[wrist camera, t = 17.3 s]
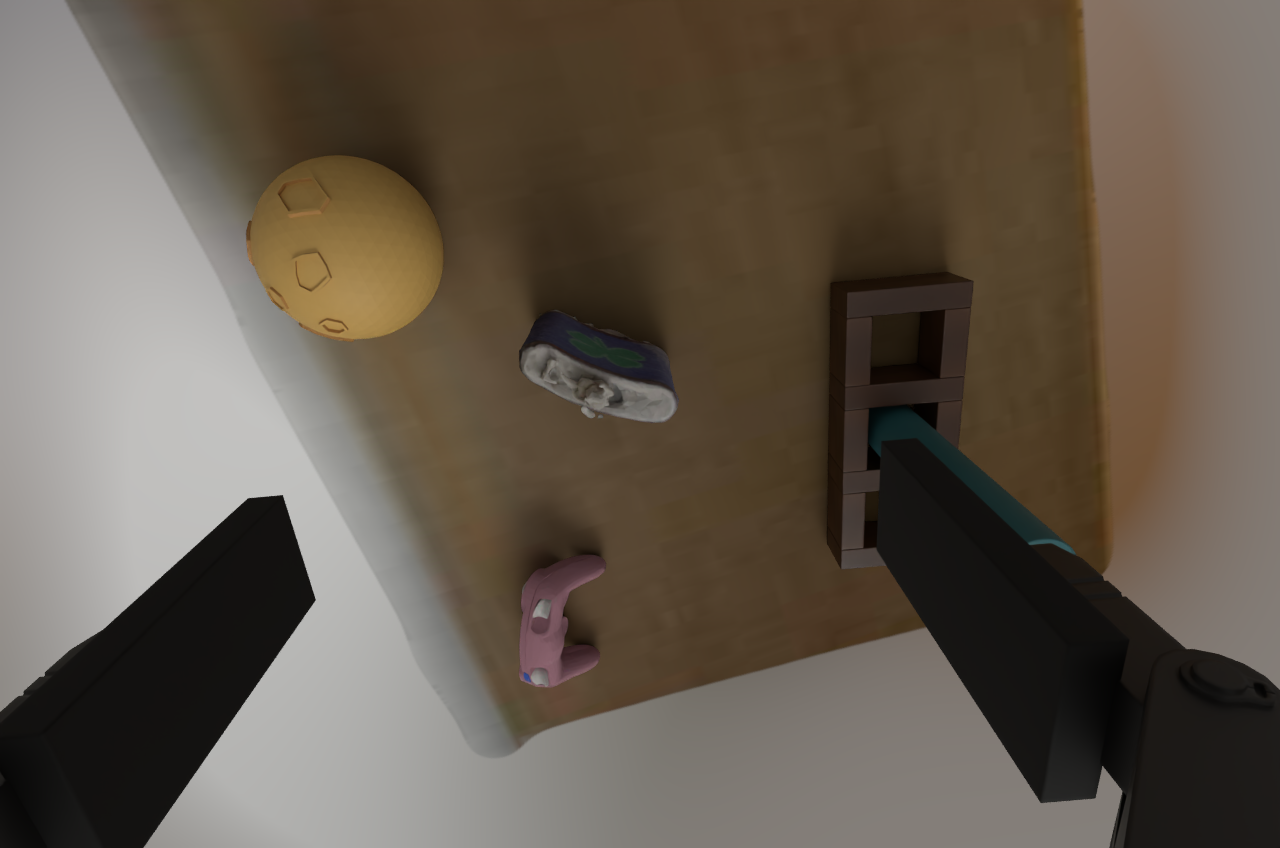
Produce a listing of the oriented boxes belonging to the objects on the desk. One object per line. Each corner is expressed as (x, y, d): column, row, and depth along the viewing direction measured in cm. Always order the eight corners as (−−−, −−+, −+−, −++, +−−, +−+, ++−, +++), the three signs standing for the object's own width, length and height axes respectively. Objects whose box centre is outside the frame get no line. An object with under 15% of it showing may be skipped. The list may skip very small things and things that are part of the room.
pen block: (830, 282, 44) (847, 292, 41) (947, 271, 44) (974, 280, 41) (826, 543, 51) (840, 569, 48) (927, 534, 51) (948, 560, 48)
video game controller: (559, 536, 52) (504, 581, 46) (611, 553, 50) (562, 603, 44) (555, 641, 56) (504, 696, 50) (604, 660, 54) (557, 719, 48)
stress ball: (406, 126, 40) (341, 115, 31) (489, 278, 43) (453, 310, 34) (265, 201, 41) (162, 213, 32) (356, 343, 45) (286, 392, 35)
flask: (674, 350, 45) (687, 404, 35) (658, 389, 46) (667, 452, 36) (541, 301, 44) (517, 344, 34) (528, 343, 45) (500, 396, 35)
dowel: (858, 397, 47) (1000, 542, 29) (910, 393, 47) (1084, 535, 29) (856, 445, 48) (992, 611, 30) (907, 441, 48) (1072, 604, 30)
